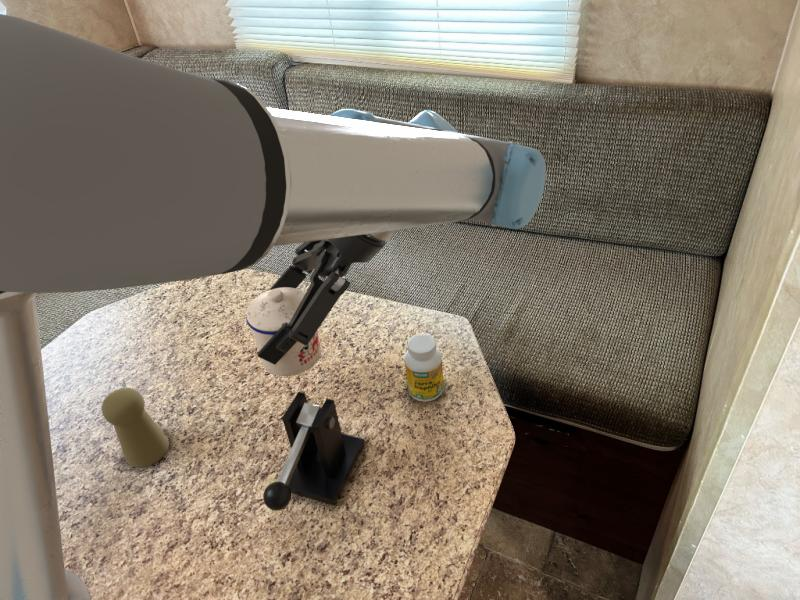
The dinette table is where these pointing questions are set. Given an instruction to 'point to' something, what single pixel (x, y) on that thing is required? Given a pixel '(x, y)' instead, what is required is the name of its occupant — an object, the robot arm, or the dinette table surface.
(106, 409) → the olive green pawn
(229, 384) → the dinette table surface
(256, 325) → the teacup with lid
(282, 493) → the lever with black knob
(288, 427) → the black lever base
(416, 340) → the supplement bottle
